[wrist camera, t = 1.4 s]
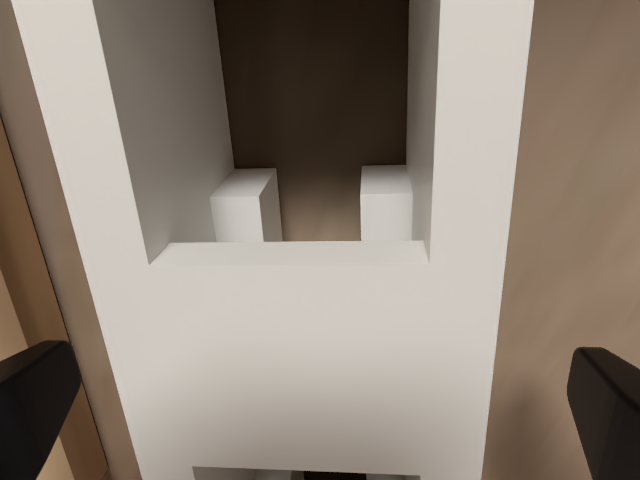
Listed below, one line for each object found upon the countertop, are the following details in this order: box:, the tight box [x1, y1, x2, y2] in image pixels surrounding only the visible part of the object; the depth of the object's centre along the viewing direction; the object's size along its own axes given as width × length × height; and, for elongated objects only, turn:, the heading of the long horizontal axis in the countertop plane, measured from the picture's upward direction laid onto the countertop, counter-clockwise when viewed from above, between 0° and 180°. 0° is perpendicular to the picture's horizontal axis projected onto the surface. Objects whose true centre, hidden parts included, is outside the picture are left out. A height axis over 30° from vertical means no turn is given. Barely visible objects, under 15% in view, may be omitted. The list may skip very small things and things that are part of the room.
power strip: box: [11, 0, 534, 480], centre depth 10 cm, size 18×6×5 cm, turn 3°
